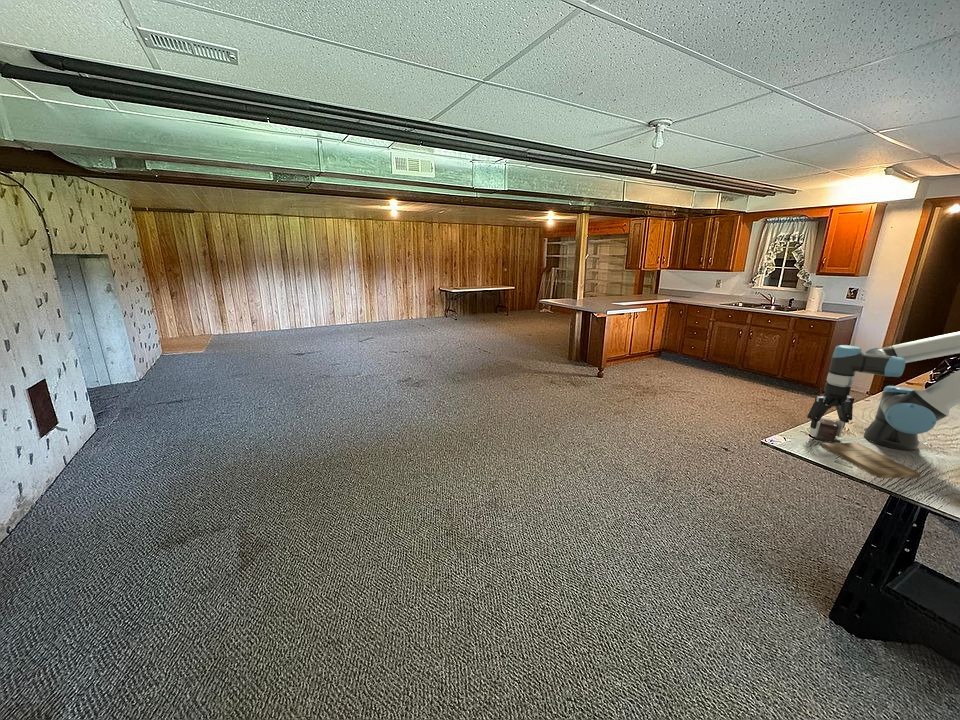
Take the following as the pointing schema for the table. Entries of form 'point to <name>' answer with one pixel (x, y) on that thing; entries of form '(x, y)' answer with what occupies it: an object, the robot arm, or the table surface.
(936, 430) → the table surface
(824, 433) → the box
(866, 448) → the oak board
